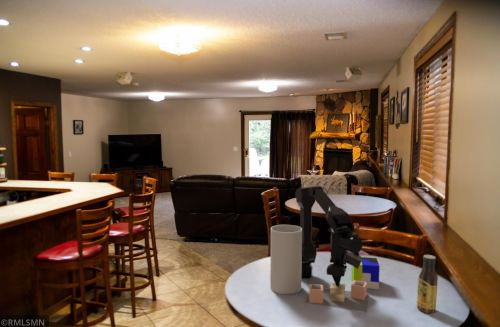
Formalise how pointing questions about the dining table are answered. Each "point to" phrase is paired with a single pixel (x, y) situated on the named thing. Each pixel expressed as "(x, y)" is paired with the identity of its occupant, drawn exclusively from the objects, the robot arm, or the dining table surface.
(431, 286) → the sauce bottle
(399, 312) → the dining table surface
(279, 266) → the cylinder vase
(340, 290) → the plain block
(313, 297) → the labelled block left
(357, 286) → the labelled block right
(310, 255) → the robot arm
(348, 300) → the mat
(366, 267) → the puzzle toy
